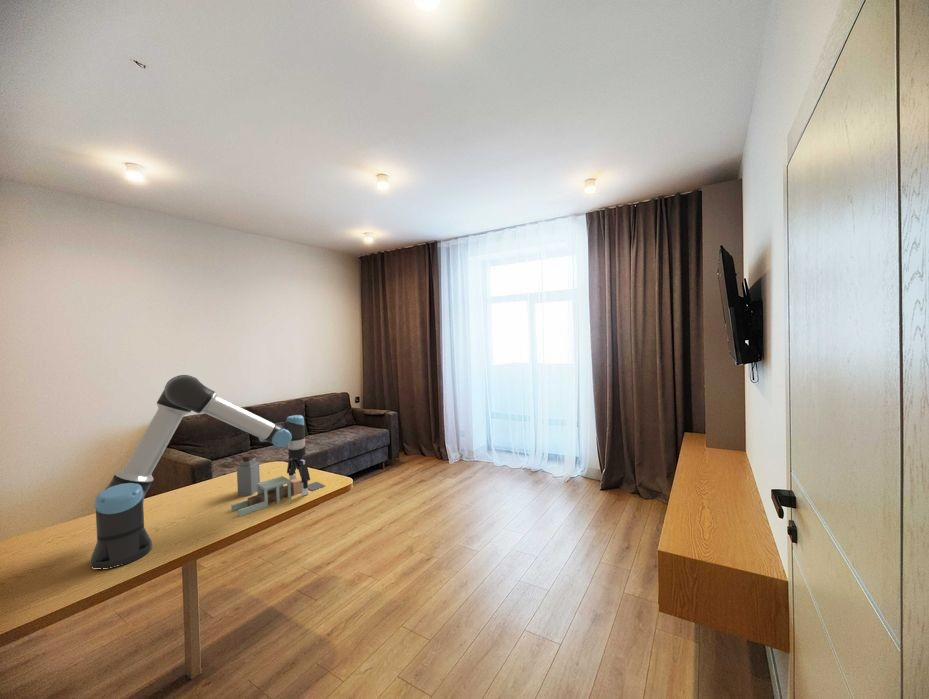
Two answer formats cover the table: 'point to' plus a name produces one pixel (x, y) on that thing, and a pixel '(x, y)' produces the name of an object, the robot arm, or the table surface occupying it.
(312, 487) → the trap mat
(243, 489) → the perfume bottle
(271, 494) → the rod
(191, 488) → the table surface
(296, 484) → the block
